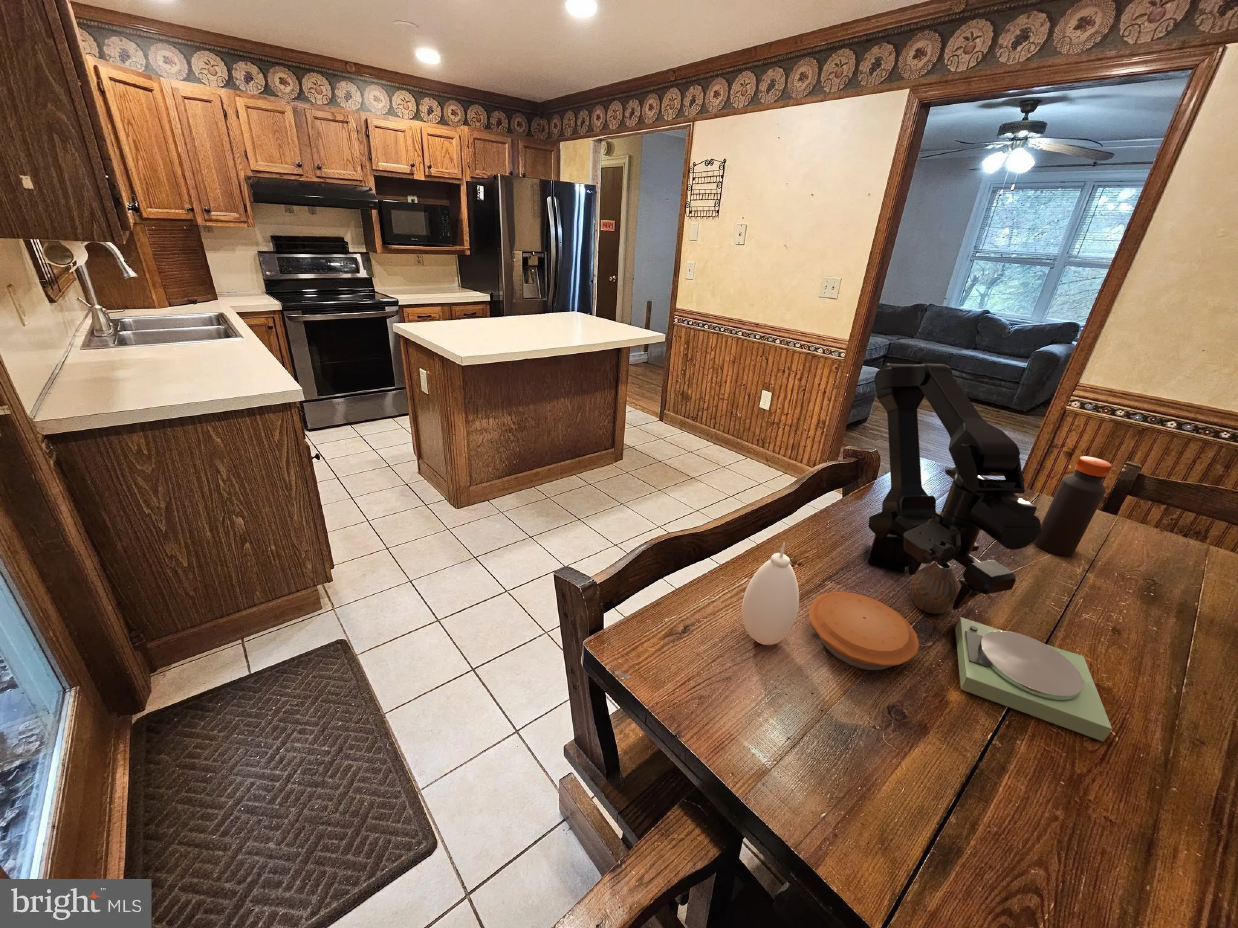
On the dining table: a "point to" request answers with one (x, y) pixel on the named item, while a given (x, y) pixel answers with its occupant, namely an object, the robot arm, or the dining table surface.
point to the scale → (985, 682)
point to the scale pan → (1031, 665)
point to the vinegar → (1073, 507)
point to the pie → (862, 630)
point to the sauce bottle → (771, 600)
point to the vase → (934, 588)
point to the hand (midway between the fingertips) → (932, 590)
